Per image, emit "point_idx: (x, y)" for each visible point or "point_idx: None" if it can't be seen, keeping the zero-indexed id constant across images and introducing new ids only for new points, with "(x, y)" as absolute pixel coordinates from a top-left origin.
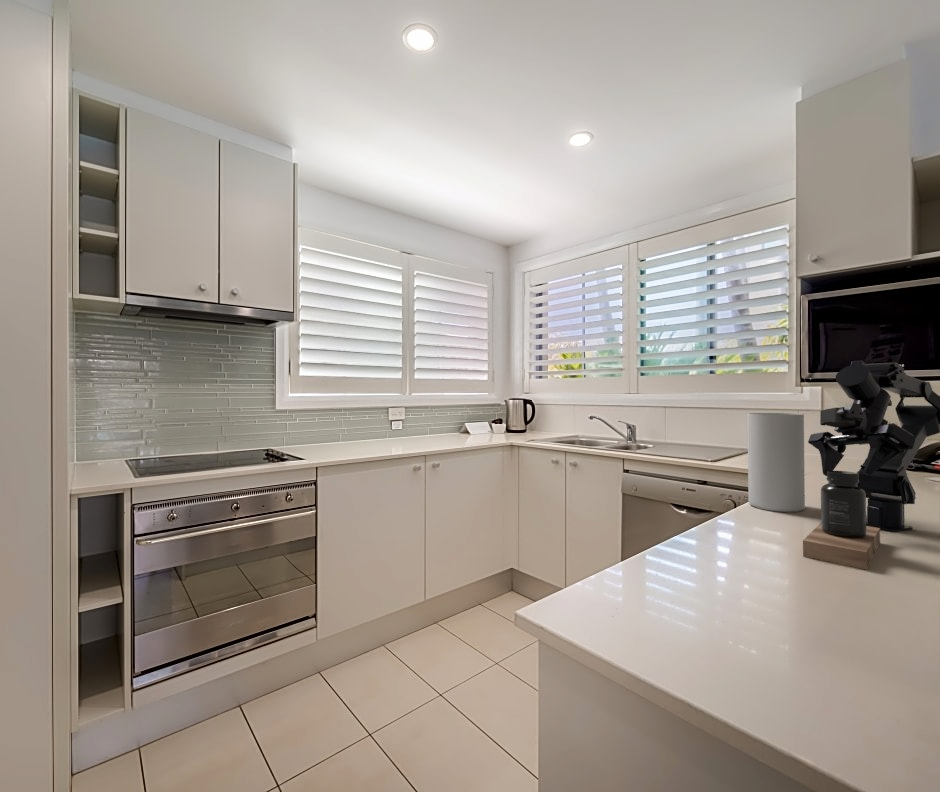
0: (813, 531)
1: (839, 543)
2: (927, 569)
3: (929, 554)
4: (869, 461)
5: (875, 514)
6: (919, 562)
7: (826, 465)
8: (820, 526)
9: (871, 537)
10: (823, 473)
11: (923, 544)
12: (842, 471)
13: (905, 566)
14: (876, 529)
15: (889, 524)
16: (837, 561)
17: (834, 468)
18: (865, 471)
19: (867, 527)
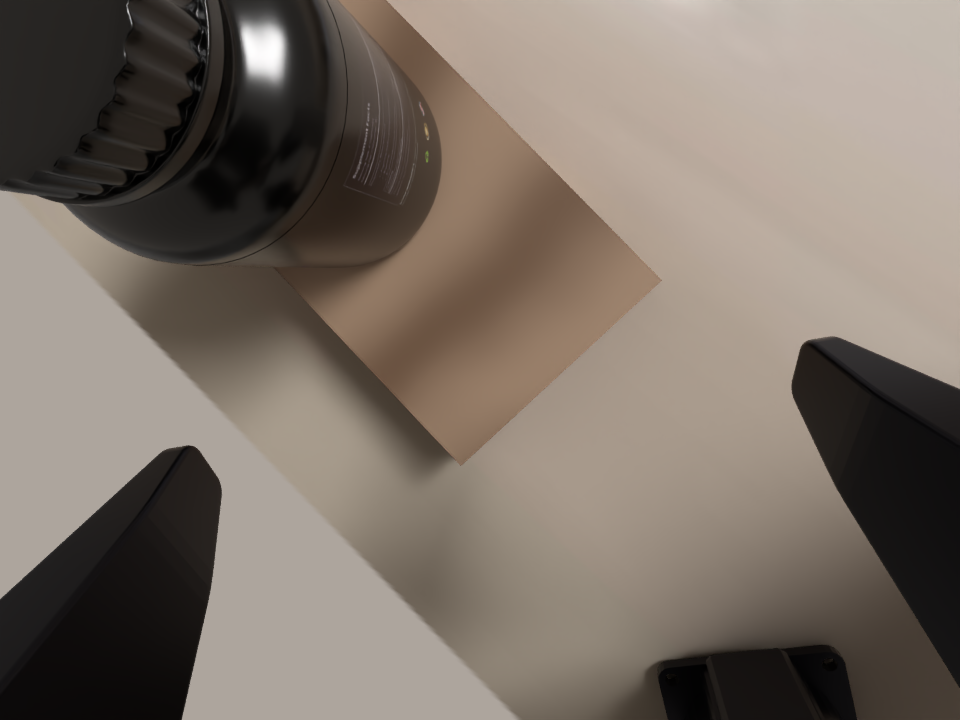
0: (390, 14)
1: None
2: (167, 338)
3: (329, 512)
4: (36, 579)
5: (747, 701)
6: (236, 379)
7: (908, 437)
8: (496, 135)
9: (291, 270)
10: (824, 339)
11: (459, 620)
12: (47, 55)
13: (190, 281)
14: (432, 422)
15: (697, 709)
16: None
17: (887, 569)
18: (162, 453)
19: (471, 406)
